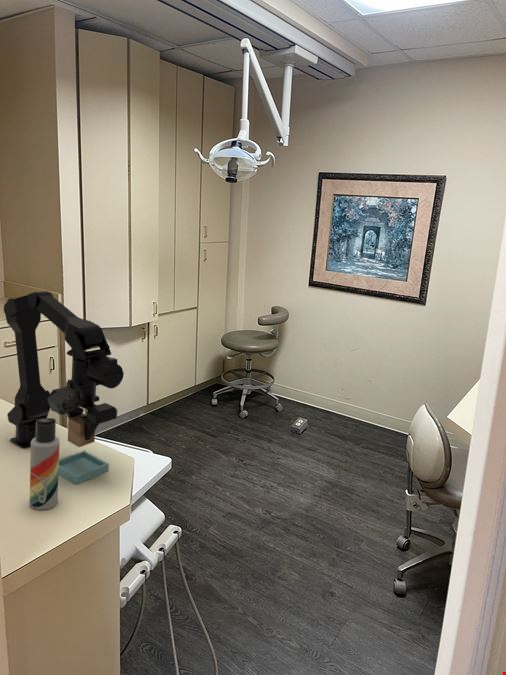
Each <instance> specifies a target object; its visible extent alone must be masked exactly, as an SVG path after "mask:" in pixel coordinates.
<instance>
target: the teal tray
mask: <svg viewBox="0 0 506 675" xmlns="http://www.w3.org/2000/svg"><path fill="white" fill-rule="evenodd" d="M109 465H110V464H109V463H108V462H106V461H104V460H102V459H101V458H99V457H97V456H95V455H93V454H92V453H91V452H87V451H86V450H81V451H79V452H76V453H74V454H73V453H72V454H71V455H69V456H66V457H63V458H59V474H58V476H61V478H63V479H65V480H67V481H68V482H70V483H72V484H73V485H75V486H76V485H79V484H81V483H84V482H87V481H88V480H90V479H93V478H95V477H97V476H100V475H103V474H105V473H107V472H109V468H110V466H109Z"/></svg>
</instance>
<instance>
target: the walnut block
mask: <svg viewBox="0 0 506 675" xmlns="http://www.w3.org/2000/svg"><path fill="white" fill-rule="evenodd" d="M86 415H87V413H86V414H85V413H83V414H81V415H78V416H75V417H71V418H69V419H68V421H67V422H68V423H67V424H68V425H67V442H69V443H70V444H72V445H75V446H76V447H78V448H80V447H81V448H82V447H84V446H88V445H89V444H92V443H95V440H96V438H95V437H96V431H95V432H94V433H93V435H92V437H91V438H90V440H85V422H84V421H83V420H82V419H81V418H80V417H82V416H86Z"/></svg>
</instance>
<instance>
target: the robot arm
mask: <svg viewBox="0 0 506 675" xmlns="http://www.w3.org/2000/svg"><path fill="white" fill-rule="evenodd" d="M6 300H7V301H6V303H4V305H3V313H4V315H5V320H6V324H8V326H9V327H10V328H11V330H12V331H13V332H14V338H15V349H16V357H17V359H16V360H17V367H18V377H19V389H18V390H17V392H16V394H15V397H14V406H13V407H12V409H11V410H9V412H8V413H6V414H7V421H8V423H10V424H12V425H14V426H15V436H13V437H11V438H9V440H10V442H12V443H13V444H15V445H17V446H19V447H21V449H25V448H28V447H31V441H32V439H33V438H35V437H36V420H38V419H45V418H48V417H49V413H50V411H51V412H54V413H57V414H58V415H60V416H62V415H63V416H64V415H65V414H66V416H67V418H68V419H69V418H71V417H75V416H78V415H81V414H84V410H85V411H86V416H82V417H80V418H81V419H82V420H83V421H84V422H85V440H90V438H91V437H92V435H93V433H94V432H95V433H96V429H97V428H98V427H99V425H100V424H103V423H106V422H109V421H113V420H115V419H117V418H118V409H117V408H116V406H113V405H111V404H108V403H107V402H104V403H101V404H95V402H96V403H97V402H98V401H99V402H100V396H98V395H96V394H97V387H98V386H102V387H105V388H108V389H115V388H117V387H118V386H119V385H120V384H121V383H122V381H123V380H124V379H123V378H124V370H123V367H122V366H121V365H120V364H118V359H117V358H115V357H110V356H111V355H112V351H111V349H110V348H111V347H110V345H109V343H108V342H107V339H106V336H105V334H104V332H103V329H102V328H101V326H100V325H98V324H96V323H94V322H93V321H92V320H88V319H85V318H81V317H79V316H77V315H76V314H74V313H73V312H72V311H71V310H70V309H69V308H68V307H66V306H65V305H64V304H63V303H62V302H60V301H59V300H58V299H56V298H55V297H54V295H53V294H52V292H50V291H47V290H45V291H42V290H41V291H33V292H30V293H28V294H27V295H23V296H20V297H13V298H12V297H11V298H9V299H6ZM42 315H43V316H44V317H45V318H46V319H47V320H49V321H50V322H51V323H52V324H53V325H54V326H56V327H57V328H58V329H59V330H60V331H61V332H62V333H63V339H64V341H65V343H66V344H68V346H69V347H70V349H69V350H68V351H67V352H66V355H67V356H70V357H72V361H71V378H70V379H67V381H66V382H65V383H66V384H65V386H64V387H63V386H62V387H59V388H55V389H52V391H51V392H50V391H49V390H46V389H45V388H44V387H43V386H42V384H41V375H40V366H39V365H40V364H39V354H38V345H37V344H38V343H37V335H36V334H37V332H36V331H37V328H38V326H39V324H40V323H41V321H42ZM98 348H99V349H98Z"/></svg>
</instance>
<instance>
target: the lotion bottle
mask: <svg viewBox="0 0 506 675" xmlns="http://www.w3.org/2000/svg"><path fill="white" fill-rule="evenodd" d="M56 422H57V421H56V418H48V417H47V418H45V419H38V420H36V437H35V438H33V439H32V441H31V446H30V460H29V461H30V463H29V464H30V466H29V467H30V468H29V469H30V470H29V472H30V473H29V505H30V507H31V508H33V509H34V510H37V511H45V510H46V511H47V510H49V509H52V508H54V507H55V506H56V505H57V503H58V499H59V498H58V495H59V460H60V445H61V444H60V443H61V442H60V438H59V437H57V435H56V429H57V428H56V426H57V424H56Z"/></svg>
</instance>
